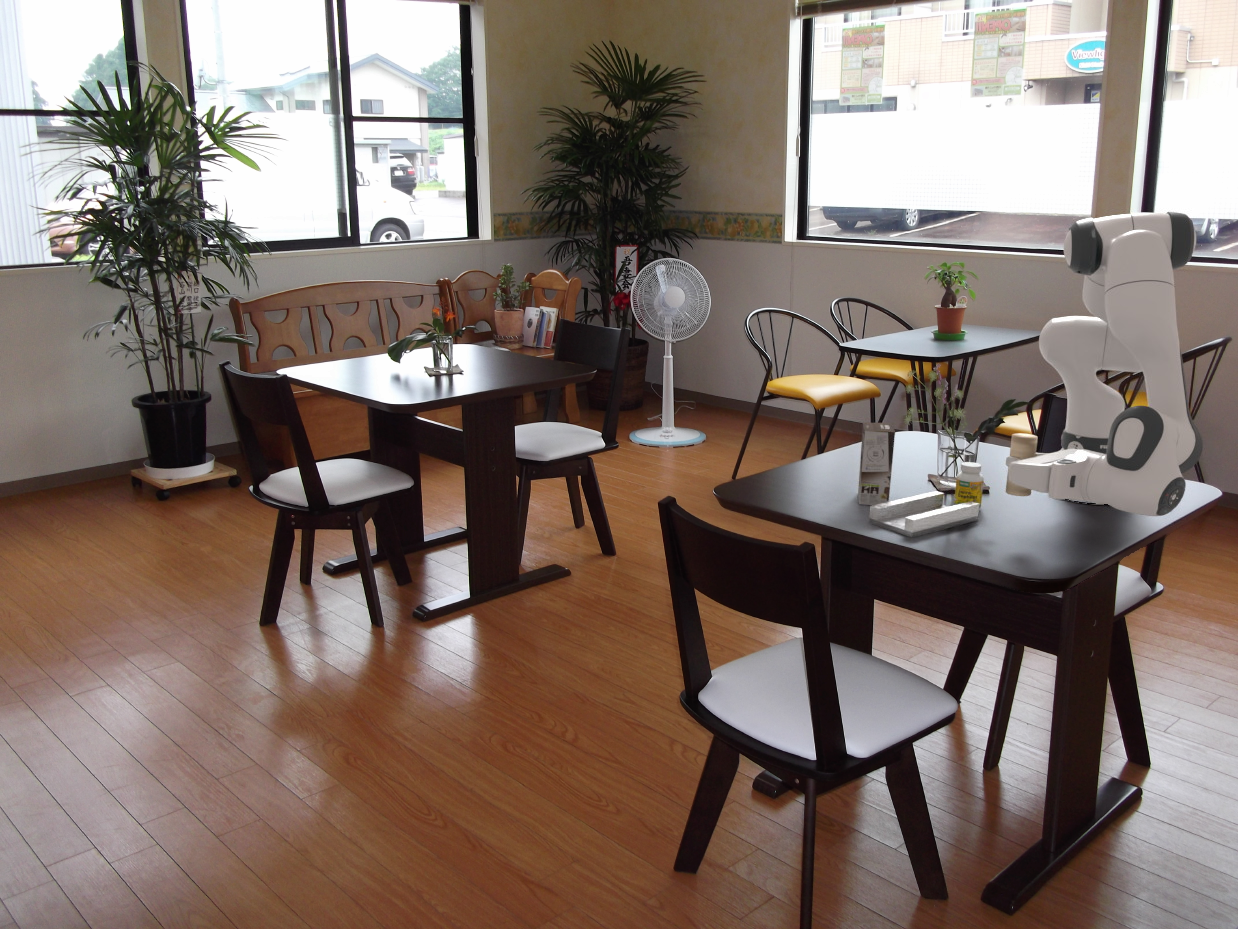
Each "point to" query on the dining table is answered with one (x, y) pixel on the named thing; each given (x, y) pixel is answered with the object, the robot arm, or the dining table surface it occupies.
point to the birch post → (1023, 449)
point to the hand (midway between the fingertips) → (1017, 458)
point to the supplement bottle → (969, 484)
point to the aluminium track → (922, 514)
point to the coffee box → (876, 463)
